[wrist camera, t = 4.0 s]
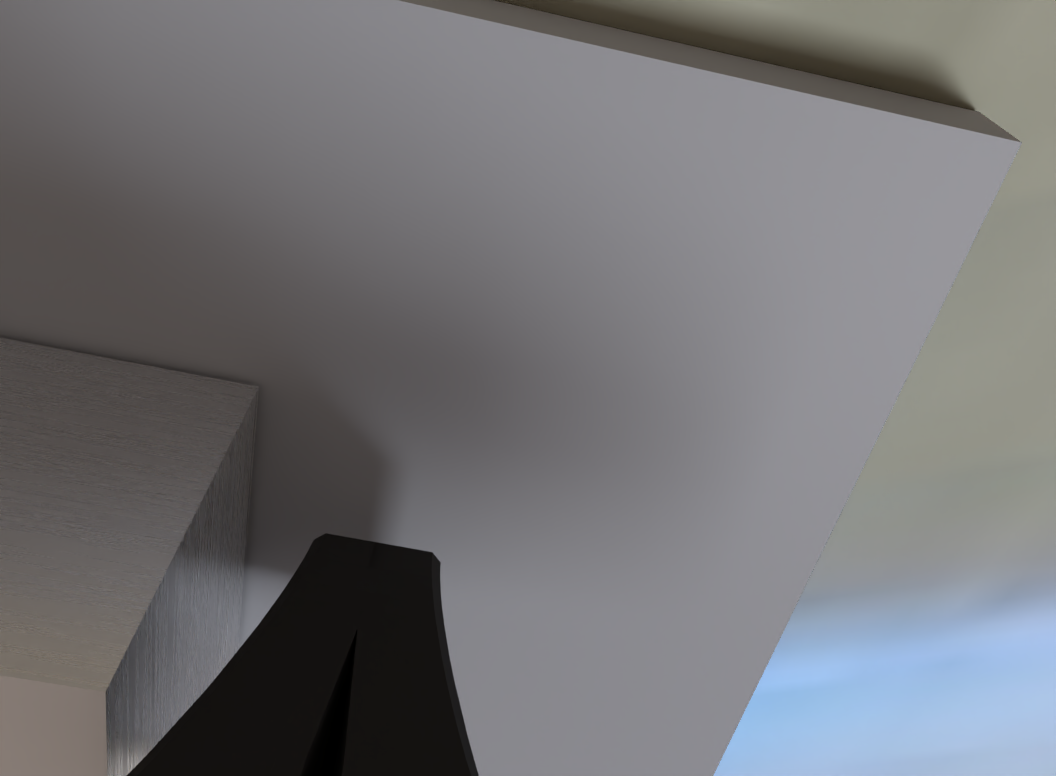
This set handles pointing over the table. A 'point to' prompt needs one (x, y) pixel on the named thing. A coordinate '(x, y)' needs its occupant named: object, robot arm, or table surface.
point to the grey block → (114, 553)
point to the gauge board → (503, 316)
